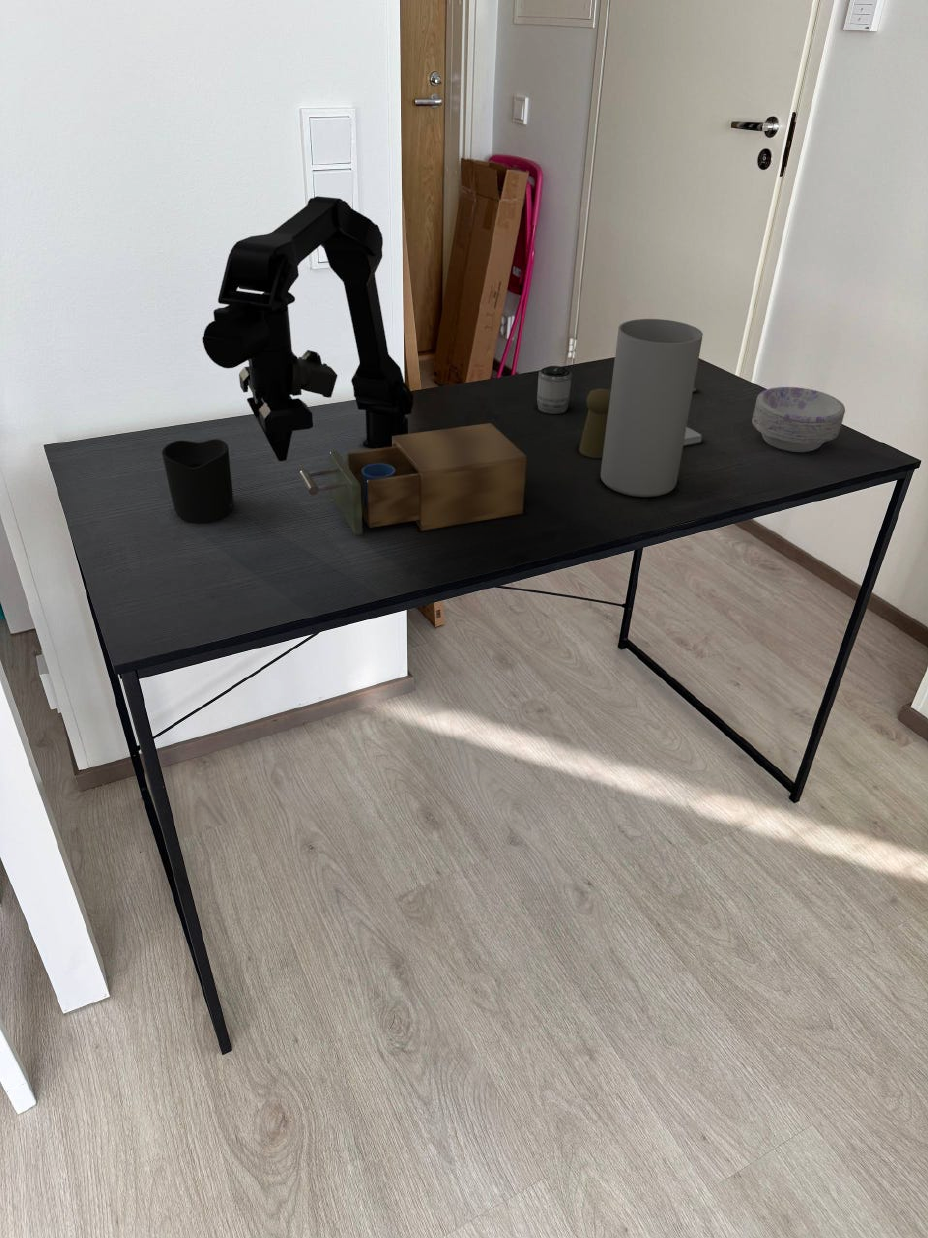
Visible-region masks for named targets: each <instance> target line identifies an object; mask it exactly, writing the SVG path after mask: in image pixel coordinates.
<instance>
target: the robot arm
mask: <svg viewBox="0 0 928 1238" xmlns="http://www.w3.org/2000/svg"><path fill="white" fill-rule="evenodd" d="M383 245H384V238H383V234H382V232H381V230H380V227H379V225H378V224H376V223H375V222H373V220H371V218H369V217H367V216H365V215H364V214H362V213H361V212H359V211H357V210H355V209H354V208H352V207H351V206H350V205H349V203H348V202H347V201H346V200H343V199H342V198H337V197H330V196H329V197H328V196H319V195H318V196H314V197H311V198H309V199H308V201H307V204H306V205H305V206H304V207H302V208H301V209H300V210H299V211H298V212H297V213H295V214H294V215H292V216H291V217H290V218H288V219H287V220H286V221H284V222H283V223H282V224H281V225H280V226H278V227H277V228H276V229H274V230H273V231H271V232H268V233H265V234H258V235H251V236H248V237H245V238H243V239H240V240H238V241H236V242H235V243H234V244H233V246H232V247H231V249H230V253H229V254H228V256H227V261H226V265H225V270H224V272H223V277H222V281H221V285H220V289H219V294H218V298H217V302H218V304H220V305H227V306H223V307H218V308H215V309H213V312H212V313H213V321H211V322H209V323H208V324H207V325H206V326H205V329H204V330H203V336H202V345H203V349H204V351H205V353H206V355H207V357H209V359H210V360H211V361H212V362H213V363H214V364H216V365H217V366H219V367H221V368H223V369H234V368H236V367H238V366H240V365H241V364H244V363H245V362H247V361H248V366H244V367H243V368H242V369H241V370H240V372H239V373H238V381H239V387H240V389H241V390H242V392H243V393H248V392H249V390H250V392H251V393H252V397H248V398H246V402H247V404H248V405H249V408H250V409H251V412H252V413H253V415H254V417H255V419H256V421H257V423H258V424H259V426H260V428H261V430H262V432H263V433H264V436H265V438H266V440H267V442H268V444H269V446H270V447H271V450H272V451H273V453H274V455H275V456H276V458H277V461H278V462H285V461H287V459H288V454H289V449H290V444H291V441H292V440H291V439H292V435H293V432H295V431H303V430H310V429H312V428H313V427H314V417H313V412H312V411H311V410H310V408H309V406H308V404H307V403H305V401H303V400H301V398H299V397H296V398H293V397H295V396H302V395H303V394H302V393H303V392H302V391H306V392H309V393H313V394H316V395H317V394H318V395H321V396H322V397H324V398H330V399H331V398H332V396H333V393H334V389H335V386H336V383H337V379H338V376H339V375H338V374H337V373H336V371H335V370H334V369H333V368H332V367H331V366H329V365H328V364H327V363H325V362H324V363H322V359H321V356H320V354H319V353H318V352H317V351H314V350H310V349H307V350H306V351H305V352H304V353H303V354H302V355H301V356H297V355H296V354H295V353H294V352H293V349H292V336H291V326H290V325H291V324H290V323H291V322H290V313H289V305H291V304H293V303H295V301H296V297H295V295H293V294H292V293H290V292H289V291H290V290H291V287H292V286H293V284H294V283H295V282H296V280H297V279H298V277H299V276H300V275H299V265H300V264H301V263H302V262H303V261H304V260H306V258H308V257H309V256H310V255H311V254H312V253H313V252H314V251H315V250H317V249H318V248H319V247H322V248H323V250H324V253H325V256H326V259H327V263H328V266H329V268H330V269H331V270H332V271H333V272H334V273H335V274H336V276H337V277H338V278H339V279H340V280H341V282H342V283H343V286H344V291H345V296H346V301H347V306H348V311H349V317H350V320H351V325H352V331H353V336H354V341H355V345H356V346H355V347H356V352H357V355H358V360H359V361H358V362H359V363H358V366H357V368H356V370H355V372H354V374H353V376H352V377H351V380H350V383H351V385H352V390H353V397H354V399H355V402H356V407H357V409H358V410H359V411H365V431H366V433H365V434H366V435H365V436H366V439H365V440H364V441H363V442H362V446H364V447H370V448H373V449H377V448H384V447H392V436H397V435H404V434H409V418H408V417H407V416H406V415H411V414H412V410H413V407H414V406H413V405H414V398H415V397H414V395H413V393H412V391H411V389H410V388H409V386H408V384H407V383H406V382H405V380H404V376H403V372H402V369H401V366H400V365H399V364H398V363H397V362H396V361H395V360H394V358H393V357H392V356H391V355H390V353H389V349H388V343H387V338H386V332H385V327H384V321H383V320H384V319H383V314H382V308H381V302H380V297H379V290H378V285H377V280H376V279H377V278H376V272H377V270H378V268H379V265H380V263H381V261H382V260H383ZM238 289H239V290H238ZM242 290H245V291H242ZM249 291H250V292H249ZM251 291H252V292H251ZM258 292H259V293H258ZM260 292H262V293H260ZM292 396H293V397H292Z"/></svg>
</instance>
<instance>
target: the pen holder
mask: <svg viewBox="0 0 928 1238" xmlns="http://www.w3.org/2000/svg"><path fill="white" fill-rule="evenodd" d="M161 455H162V460H163V464H164V469H165V473H166V478H167V483H168V487H169V492H170V496H171V497H170V498H171V501H172V504H173V509H174V513H175V515H176V516H177V517H178V518H180V519H181V520H183V521H185V522H188V523H196V524H205V523H211V522H216V521H219V520H221V519H224V518H226V517H227V516H229V514H231V512H232V511H233V509H234V496H233V495H234V494H233V482H232V471H231V463H230V462H231V460H230V450H229V445H228V444H227V442H226V441H223V440H221V439H218V438H214V439H209V440H206V441H200V442H195V441H189V440H176V441H172V442H170V443H168V444H167V445H165V446H164V447H163V448H162V450H161Z"/></svg>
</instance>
